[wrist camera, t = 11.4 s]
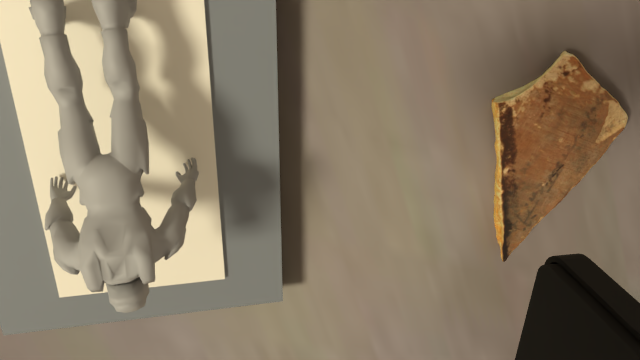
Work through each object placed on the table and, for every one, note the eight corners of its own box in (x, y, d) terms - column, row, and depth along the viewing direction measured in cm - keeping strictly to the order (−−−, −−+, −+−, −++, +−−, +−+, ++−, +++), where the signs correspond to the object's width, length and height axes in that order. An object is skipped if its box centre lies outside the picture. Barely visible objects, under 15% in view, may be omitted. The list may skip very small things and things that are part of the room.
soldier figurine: (26, 29, 24) (74, 297, 25) (-31, -3, 18) (33, 339, 20) (175, 15, 25) (214, 273, 26) (162, -20, 19) (212, 306, 21)
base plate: (-95, -62, 21) (-117, -61, 19) (269, -60, 24) (275, -59, 22) (12, 316, 29) (2, 338, 27) (278, 285, 31) (283, 303, 30)
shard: (491, 249, 34) (506, 265, 33) (406, 189, 31) (418, 203, 29) (618, 112, 32) (641, 122, 30) (540, 32, 29) (560, 38, 27)
